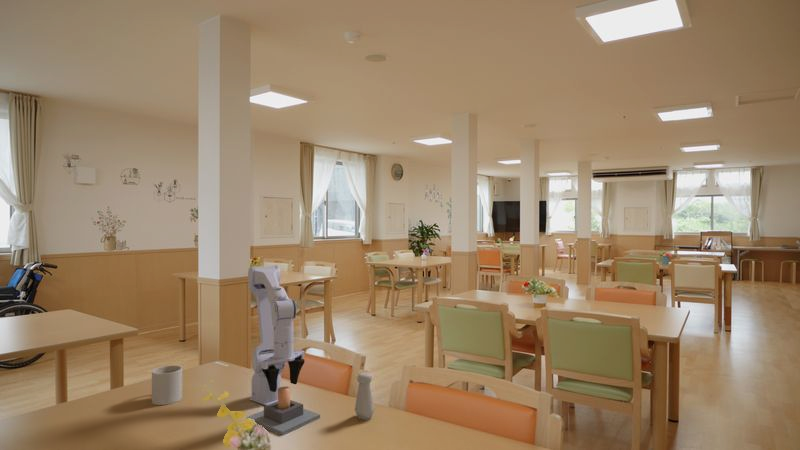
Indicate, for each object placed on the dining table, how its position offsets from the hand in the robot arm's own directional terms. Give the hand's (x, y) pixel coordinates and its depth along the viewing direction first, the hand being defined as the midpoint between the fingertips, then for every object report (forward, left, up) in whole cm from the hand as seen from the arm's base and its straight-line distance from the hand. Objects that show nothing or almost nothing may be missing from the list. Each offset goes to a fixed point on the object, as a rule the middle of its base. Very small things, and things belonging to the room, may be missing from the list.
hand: (283, 387), depth 134 cm
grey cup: (-43, -12, -10) cm, 46 cm away
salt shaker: (+19, +15, -10) cm, 26 cm away
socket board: (0, 0, -9) cm, 9 cm away
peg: (0, 0, -8) cm, 8 cm away
